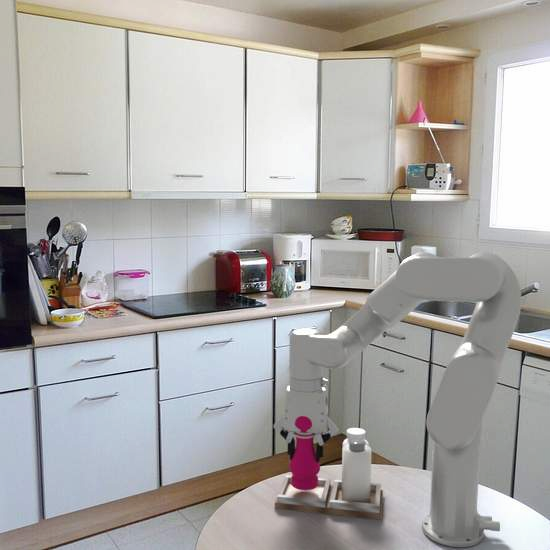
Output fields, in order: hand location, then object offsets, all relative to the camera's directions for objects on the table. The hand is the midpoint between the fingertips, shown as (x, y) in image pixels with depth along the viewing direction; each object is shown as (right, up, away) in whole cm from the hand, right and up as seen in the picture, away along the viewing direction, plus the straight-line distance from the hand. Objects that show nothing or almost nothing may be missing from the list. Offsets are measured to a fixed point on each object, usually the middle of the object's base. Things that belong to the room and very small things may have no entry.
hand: (305, 457), depth 146 cm
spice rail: (+6, -10, 0) cm, 12 cm away
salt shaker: (+12, -9, -1) cm, 15 cm away
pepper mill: (0, -7, +1) cm, 7 cm away
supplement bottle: (+13, -9, +12) cm, 20 cm away
